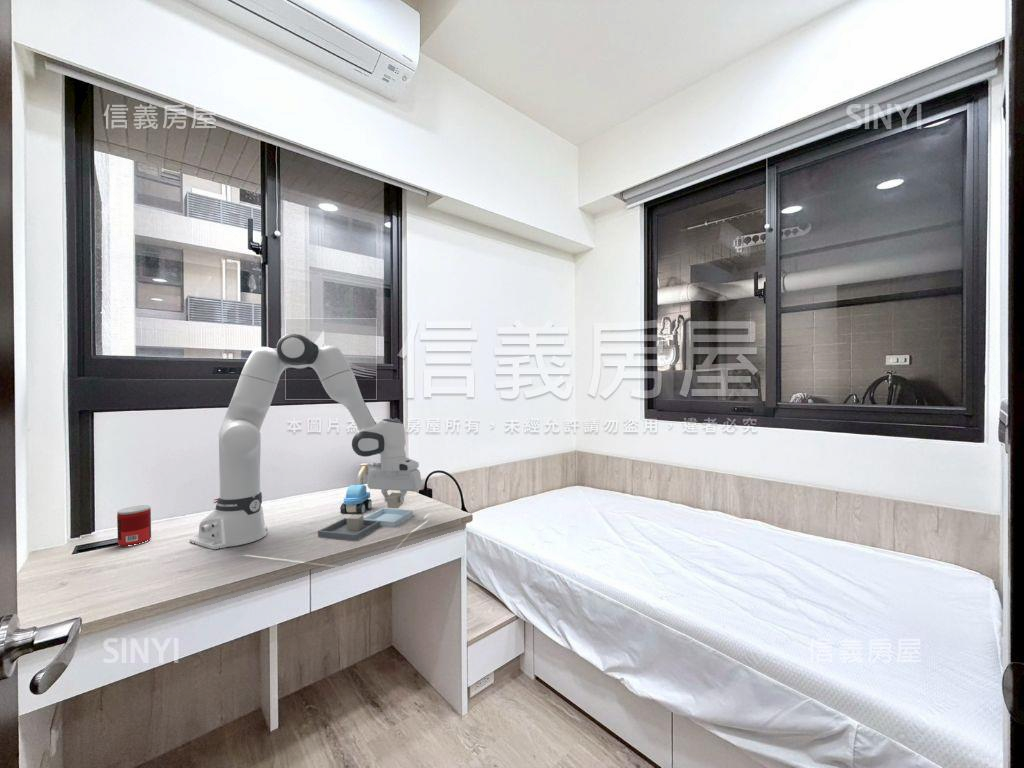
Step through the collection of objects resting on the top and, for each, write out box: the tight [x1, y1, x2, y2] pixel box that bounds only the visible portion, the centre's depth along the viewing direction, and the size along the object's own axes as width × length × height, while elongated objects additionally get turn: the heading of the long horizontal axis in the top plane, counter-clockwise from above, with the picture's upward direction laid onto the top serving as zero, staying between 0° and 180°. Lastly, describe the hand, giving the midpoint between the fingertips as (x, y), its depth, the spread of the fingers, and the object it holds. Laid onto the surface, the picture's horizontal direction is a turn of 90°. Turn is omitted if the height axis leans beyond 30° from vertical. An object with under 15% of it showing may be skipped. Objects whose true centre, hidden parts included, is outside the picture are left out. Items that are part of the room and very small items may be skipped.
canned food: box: [116, 504, 152, 547], centre depth 133 cm, size 8×8×11 cm
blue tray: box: [364, 507, 414, 528], centre depth 151 cm, size 13×13×2 cm
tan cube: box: [346, 514, 365, 530], centre depth 142 cm, size 4×4×4 cm
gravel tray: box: [317, 517, 381, 542], centre depth 139 cm, size 14×13×2 cm
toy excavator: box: [339, 462, 373, 515], centre depth 165 cm, size 9×17×17 cm, turn 174°
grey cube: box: [386, 492, 404, 509], centre depth 150 cm, size 4×4×4 cm
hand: (394, 501), depth 150 cm, fingers closed on grey cube, 4 cm apart
